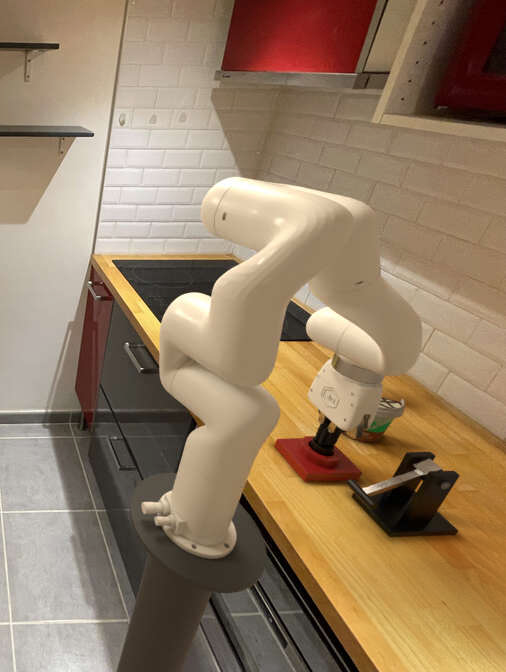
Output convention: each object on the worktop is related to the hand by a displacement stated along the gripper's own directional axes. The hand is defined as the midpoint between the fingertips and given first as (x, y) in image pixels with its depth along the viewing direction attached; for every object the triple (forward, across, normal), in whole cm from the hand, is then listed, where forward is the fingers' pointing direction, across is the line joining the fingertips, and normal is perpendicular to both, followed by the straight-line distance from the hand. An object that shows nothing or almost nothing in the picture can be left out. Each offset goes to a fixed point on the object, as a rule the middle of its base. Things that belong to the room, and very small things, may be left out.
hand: (324, 442), depth 88 cm
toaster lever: (-2, +12, +3) cm, 13 cm away
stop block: (+6, 0, 0) cm, 6 cm away
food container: (+6, -7, +15) cm, 17 cm away
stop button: (+2, 0, 0) cm, 2 cm away
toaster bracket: (+6, +12, +7) cm, 15 cm away
